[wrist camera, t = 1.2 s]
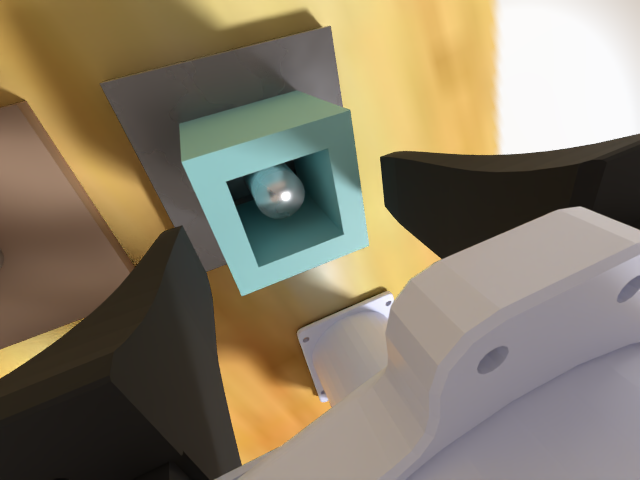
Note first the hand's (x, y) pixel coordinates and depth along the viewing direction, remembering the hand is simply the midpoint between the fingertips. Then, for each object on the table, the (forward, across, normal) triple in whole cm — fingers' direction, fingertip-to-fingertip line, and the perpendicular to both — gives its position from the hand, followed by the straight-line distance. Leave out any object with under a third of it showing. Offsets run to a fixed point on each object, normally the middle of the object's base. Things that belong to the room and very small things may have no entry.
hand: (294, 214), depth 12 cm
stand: (+7, 0, 0) cm, 7 cm away
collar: (+6, 0, 0) cm, 6 cm away
